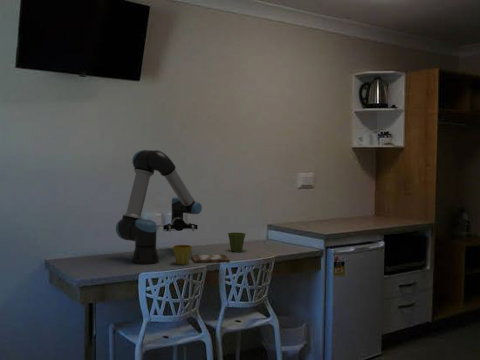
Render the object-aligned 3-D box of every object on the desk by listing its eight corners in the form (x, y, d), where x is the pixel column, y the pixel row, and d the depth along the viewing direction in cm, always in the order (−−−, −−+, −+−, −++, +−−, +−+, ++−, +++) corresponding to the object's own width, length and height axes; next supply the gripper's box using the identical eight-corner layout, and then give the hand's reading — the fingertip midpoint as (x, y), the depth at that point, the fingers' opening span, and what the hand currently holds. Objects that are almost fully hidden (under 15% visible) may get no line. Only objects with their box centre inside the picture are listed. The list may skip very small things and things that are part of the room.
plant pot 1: (169, 263, 283) (169, 246, 283) (179, 260, 292) (179, 243, 292) (184, 266, 278) (184, 248, 278) (194, 262, 287) (195, 245, 287)
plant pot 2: (249, 251, 327) (249, 233, 326) (236, 253, 319) (236, 235, 318) (236, 248, 335) (237, 231, 335) (223, 250, 327) (223, 233, 327)
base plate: (194, 263, 286) (194, 260, 286) (191, 257, 302) (191, 254, 302) (229, 262, 291) (229, 259, 290) (224, 256, 306) (224, 254, 306)
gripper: (198, 229, 319) (203, 235, 298) (158, 230, 314) (160, 236, 293) (198, 217, 318) (203, 222, 298) (158, 218, 313) (160, 223, 293)
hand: (181, 229), depth 295 cm, fingers open, 13 cm apart
